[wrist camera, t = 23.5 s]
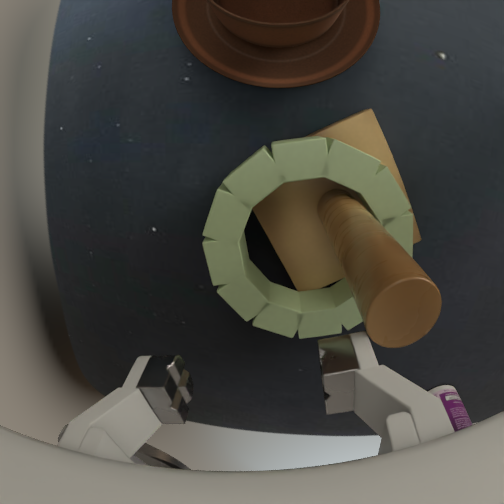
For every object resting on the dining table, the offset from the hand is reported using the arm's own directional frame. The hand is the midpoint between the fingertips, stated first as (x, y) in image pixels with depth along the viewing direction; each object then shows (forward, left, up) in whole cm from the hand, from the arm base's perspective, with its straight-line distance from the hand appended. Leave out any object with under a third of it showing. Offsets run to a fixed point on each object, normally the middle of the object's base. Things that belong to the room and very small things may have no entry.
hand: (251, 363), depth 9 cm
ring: (+3, -1, -10) cm, 11 cm away
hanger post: (+5, 0, -12) cm, 13 cm away
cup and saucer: (+8, +13, -12) cm, 19 cm away
